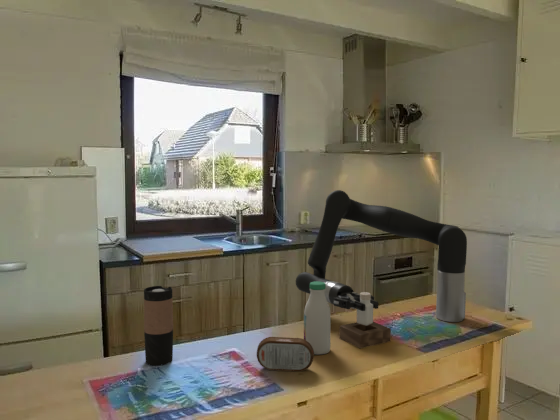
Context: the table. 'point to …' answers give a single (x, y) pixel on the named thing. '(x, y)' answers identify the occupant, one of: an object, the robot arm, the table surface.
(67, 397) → the table surface
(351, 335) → the walnut stand
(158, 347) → the travel mug
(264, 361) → the tin
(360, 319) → the salt shaker
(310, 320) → the milk bottle
